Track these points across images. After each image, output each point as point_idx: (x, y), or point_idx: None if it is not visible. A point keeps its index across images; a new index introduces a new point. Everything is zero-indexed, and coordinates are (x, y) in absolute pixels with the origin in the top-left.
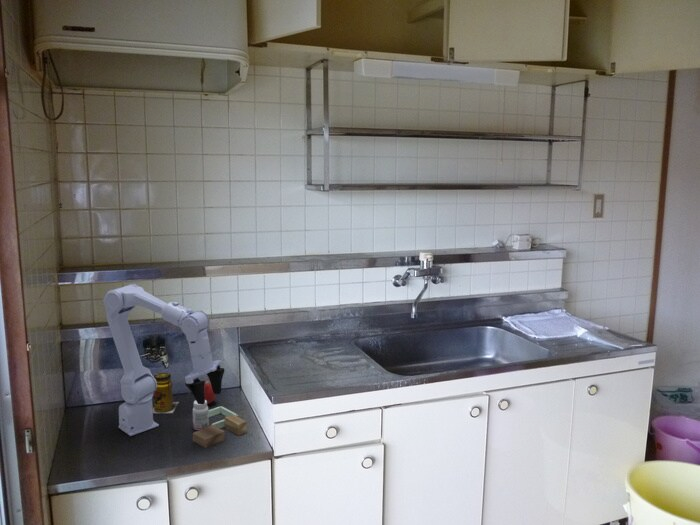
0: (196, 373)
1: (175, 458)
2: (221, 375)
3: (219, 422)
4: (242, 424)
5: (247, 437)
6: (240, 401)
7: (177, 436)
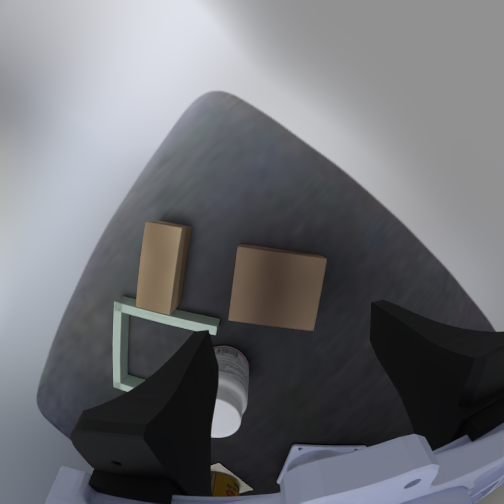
0: (478, 482)
1: (405, 281)
2: (140, 401)
3: (190, 320)
4: (164, 224)
5: (184, 191)
6: (57, 367)
7: (310, 376)
